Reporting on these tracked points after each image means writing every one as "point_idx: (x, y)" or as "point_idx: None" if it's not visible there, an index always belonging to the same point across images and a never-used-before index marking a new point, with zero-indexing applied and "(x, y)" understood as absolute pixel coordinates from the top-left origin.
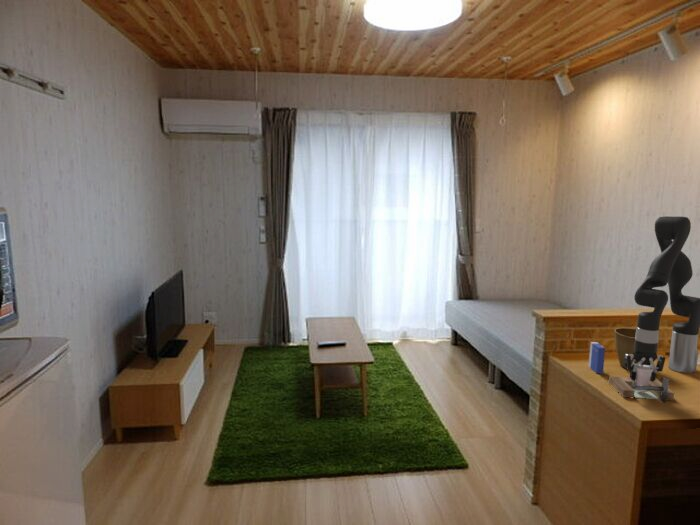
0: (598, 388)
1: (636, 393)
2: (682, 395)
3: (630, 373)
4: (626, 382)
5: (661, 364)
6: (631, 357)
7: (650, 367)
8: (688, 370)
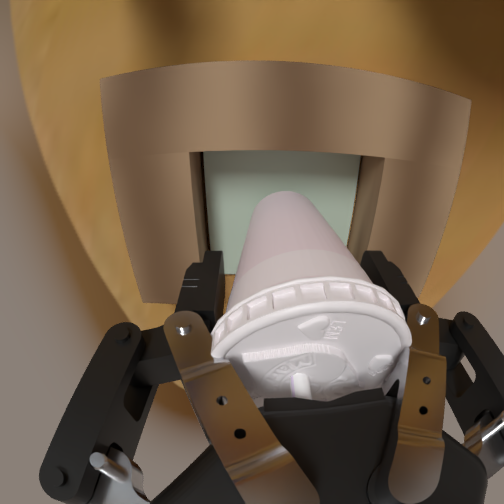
0: (56, 182)
1: (248, 226)
2: (476, 215)
3: (181, 302)
4: (211, 148)
5: (461, 410)
6: (131, 493)
7: (388, 367)
8: None
